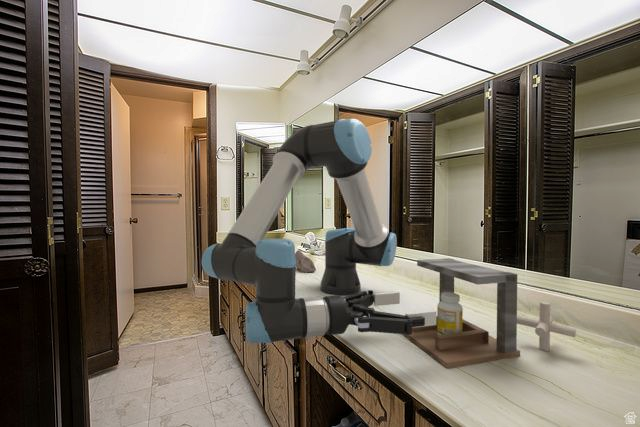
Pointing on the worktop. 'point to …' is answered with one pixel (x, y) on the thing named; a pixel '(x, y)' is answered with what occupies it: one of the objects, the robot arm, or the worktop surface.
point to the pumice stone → (304, 262)
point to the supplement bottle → (449, 314)
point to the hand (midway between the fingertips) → (415, 306)
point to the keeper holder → (472, 339)
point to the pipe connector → (545, 326)
